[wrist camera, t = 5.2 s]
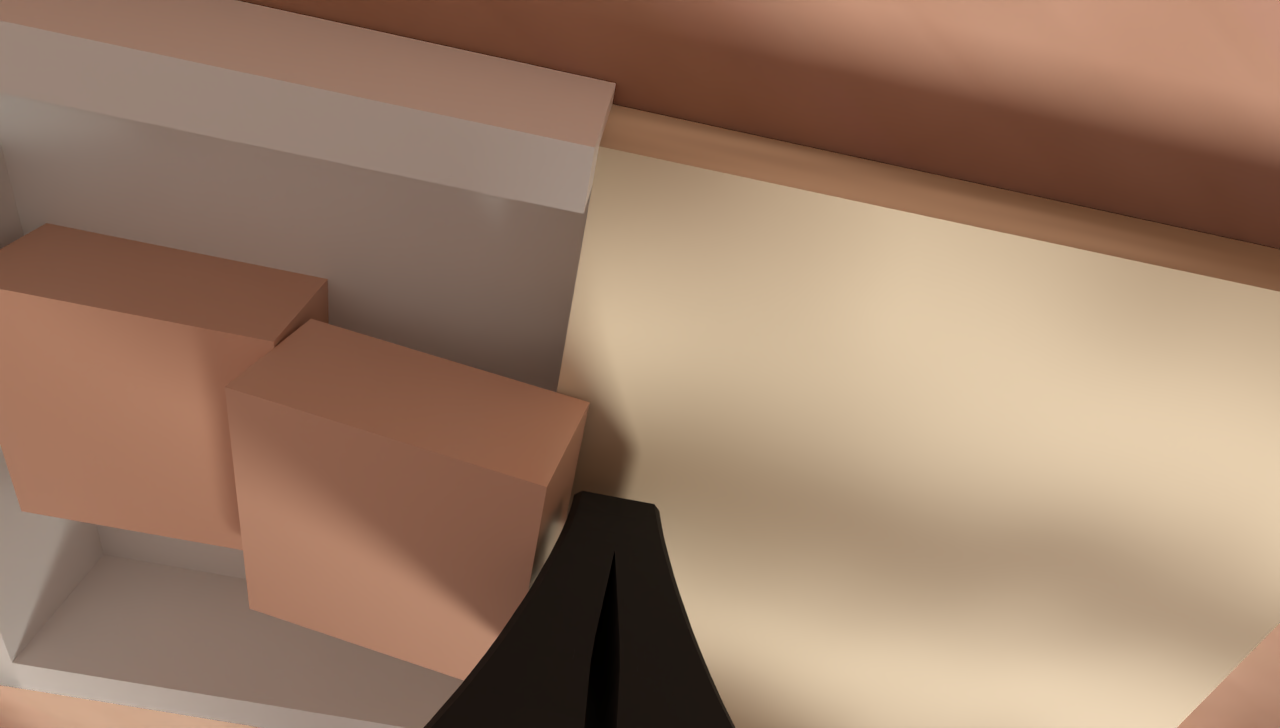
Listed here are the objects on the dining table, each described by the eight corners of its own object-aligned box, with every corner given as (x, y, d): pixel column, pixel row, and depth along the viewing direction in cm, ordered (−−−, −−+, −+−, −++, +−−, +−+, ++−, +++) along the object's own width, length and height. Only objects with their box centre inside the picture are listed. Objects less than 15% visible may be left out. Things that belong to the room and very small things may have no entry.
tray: (517, 638, 18) (489, 765, 16) (81, 562, 17) (-22, 681, 15) (616, 83, 11) (594, 147, 9) (-93, -72, 11) (-336, -52, 8)
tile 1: (549, 600, 14) (509, 695, 12) (318, 526, 14) (249, 608, 13) (589, 402, 12) (547, 487, 10) (310, 318, 12) (224, 387, 10)
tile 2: (332, 481, 15) (288, 558, 14) (95, 438, 15) (21, 511, 13) (327, 278, 13) (272, 342, 11) (46, 223, 13) (-53, 278, 11)
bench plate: (1059, 723, 19) (1096, 809, 17) (519, 629, 18) (501, 709, 16) (1431, 282, 12) (1551, 349, 11) (611, 104, 11) (599, 145, 10)
